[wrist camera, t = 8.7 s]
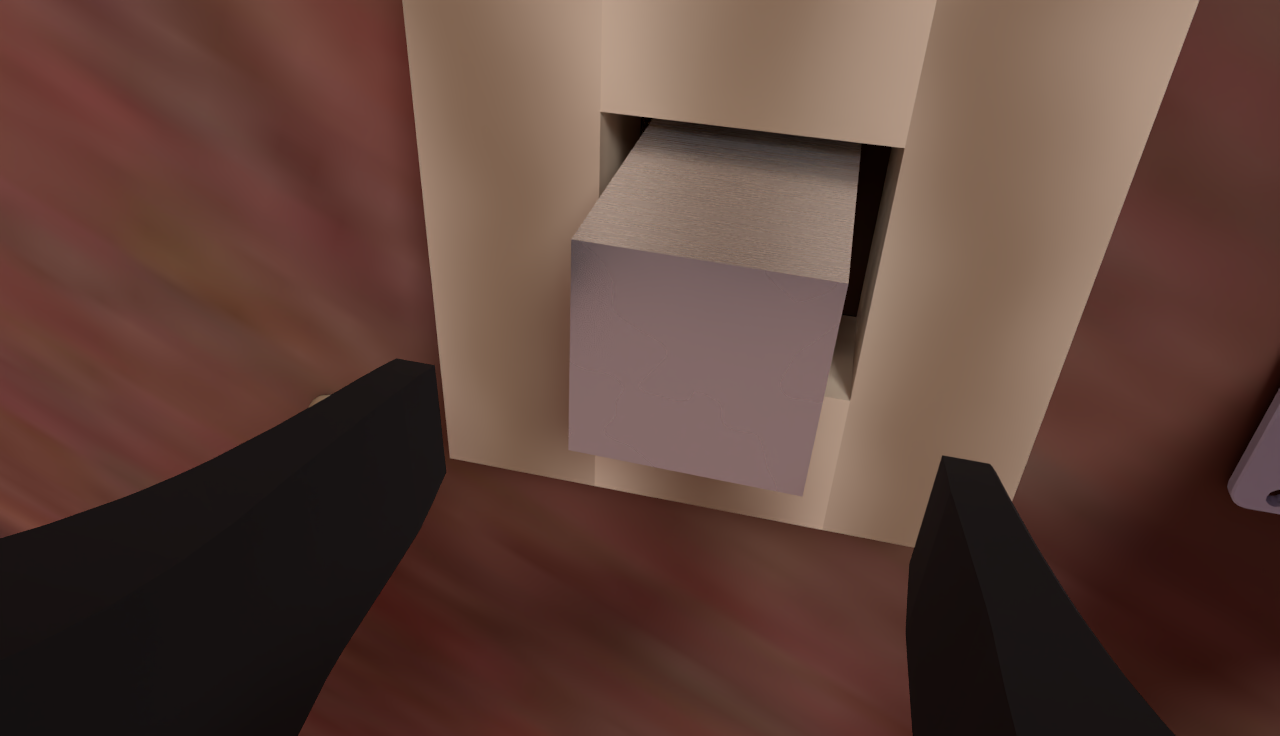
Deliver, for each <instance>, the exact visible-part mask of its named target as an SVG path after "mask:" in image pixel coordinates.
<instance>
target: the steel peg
mask: <svg viewBox="0 0 1280 736" xmlns="http://www.w3.org/2000/svg"><path fill="white" fill-rule="evenodd" d="M860 154H861V143H857V142H848V141H840V140H832V139H824V138H815V137H807V136H799V135H790V134H782V133H774V132H765V131H757V130H749V129H741V128H732V127H724V126H716V125H707V124H699V123H691V122H682V121H674V120H666V119H657V118H653V119H652V121H651V122H650V124H649V125H648V127H647V128H646V130H645V131H644V132H643V134H642V135H641V137H640V138H639V140H638V141H637V143H636V144H635V146H634V147H633V149H632V150H631V152H630V153H629V155H628V156H627V158H626V159H625V161H624V162H623V164H622V165H621V166H620V168H619V169H618V171H617V172H616V174H615V175H614V177H613V178H612V180H611V181H610V183H609V184H608V186H607V187H606V189H605V190H604V192H603V193H602V195H601V196H600V198H599V199H598V200H597V202H596V203H595V205H594V206H593V208H592V209H591V211H590V212H589V214H588V215H587V217H586V218H585V220H584V221H583V223H582V224H581V226H580V227H579V229H578V230H577V232H576V233H575V234H574V236H573V237H572V239H571V295H570V368H569V441H568V450H571V451H576V452H581V453H586V454H591V455H596V456H601V457H606V458H611V459H616V460H621V461H626V462H631V463H636V464H641V465H646V466H651V467H656V468H661V469H666V470H671V471H676V472H681V473H686V474H691V475H696V476H701V477H706V478H711V479H716V480H721V481H726V482H731V483H736V484H741V485H746V486H751V487H756V488H761V489H767V490H772V491H777V492H782V493H787V494H792V495H797V496H802V497H803V492H804V487H805V483H806V478H807V473H808V469H809V464H810V459H811V455H812V450H813V446H814V441H815V436H816V432H817V427H818V422H819V418H820V413H821V408H822V404H823V399H824V395H825V390H826V385H827V381H828V376H829V371H830V367H831V362H832V357H833V353H834V348H835V344H836V339H837V334H838V330H839V325H840V320H841V316H842V311H843V306H844V302H845V297H846V293H847V288H848V283H849V272H850V261H851V251H852V240H853V229H854V218H855V208H856V197H857V186H858V175H859V165H860Z"/></svg>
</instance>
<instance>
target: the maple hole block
mask: <svg viewBox="0 0 1280 736" xmlns="http://www.w3.org/2000/svg"><path fill="white" fill-rule="evenodd" d="M402 2H403V12H404V21H405V31H406V41H407V50H408V60H409V69H410V79H411V89H412V98H413V108H414V117H415V127H416V137H417V146H418V156H419V165H420V175H421V185H422V194H423V204H424V213H425V223H426V233H427V242H428V252H429V261H430V271H431V281H432V290H433V300H434V309H435V319H436V329H437V338H438V348H439V357H440V367H441V377H442V386H443V396H444V405H445V415H446V424H447V434H448V444H449V453H450V458H452V459H457V460H463V461H468V462H473V463H478V464H483V465H488V466H494V467H499V468H504V469H509V470H514V471H520V472H525V473H530V474H535V475H540V476H546V477H551V478H556V479H561V480H566V481H571V482H577V483H582V484H587V485H592V486H597V487H603V488H608V489H613V490H618V491H623V492H628V493H634V494H639V495H644V496H649V497H654V498H660V499H665V500H670V501H675V502H680V503H686V504H691V505H696V506H701V507H706V508H711V509H717V510H722V511H727V512H732V513H737V514H743V515H748V516H753V517H758V518H763V519H768V520H774V521H779V522H784V523H789V524H794V525H800V526H805V527H810V528H815V529H820V530H826V531H831V532H836V533H841V534H846V535H851V536H857V537H862V538H867V539H872V540H877V541H883V542H888V543H893V544H898V545H903V546H908V547H915V544H916V540H917V537H918V534H919V531H920V527H921V524H922V521H923V517H924V514H925V511H926V507H927V504H928V501H929V497H930V494H931V491H932V487H933V484H934V481H935V478H936V474H937V471H938V468H939V464H940V461H941V458H942V455H944V456H949V457H955V458H961V459H966V460H972V461H978V462H983V463H989V464H991V466H992V467H993V468H994V470H995V471H996V473H997V475H998V477H999V478H1000V480H1001V482H1002V484H1003V486H1004V488H1005V490H1006V492H1007V494H1008V495H1009V497H1010V499H1011V501H1012V500H1013V497H1014V495H1015V492H1016V489H1017V487H1018V484H1019V481H1020V479H1021V476H1022V473H1023V471H1024V468H1025V465H1026V463H1027V460H1028V457H1029V455H1030V452H1031V449H1032V447H1033V444H1034V441H1035V439H1036V436H1037V433H1038V431H1039V428H1040V425H1041V423H1042V420H1043V417H1044V415H1045V412H1046V409H1047V406H1048V404H1049V401H1050V398H1051V396H1052V393H1053V390H1054V388H1055V385H1056V382H1057V380H1058V377H1059V374H1060V372H1061V369H1062V366H1063V364H1064V361H1065V358H1066V356H1067V353H1068V350H1069V348H1070V345H1071V342H1072V340H1073V337H1074V334H1075V332H1076V329H1077V326H1078V324H1079V321H1080V318H1081V315H1082V313H1083V310H1084V307H1085V305H1086V302H1087V299H1088V297H1089V294H1090V291H1091V289H1092V286H1093V283H1094V281H1095V278H1096V275H1097V273H1098V270H1099V267H1100V265H1101V262H1102V259H1103V257H1104V254H1105V251H1106V249H1107V246H1108V243H1109V241H1110V238H1111V235H1112V233H1113V230H1114V227H1115V224H1116V222H1117V219H1118V216H1119V214H1120V211H1121V208H1122V206H1123V203H1124V200H1125V198H1126V195H1127V192H1128V190H1129V187H1130V184H1131V182H1132V179H1133V176H1134V174H1135V171H1136V168H1137V166H1138V163H1139V160H1140V158H1141V155H1142V152H1143V150H1144V147H1145V144H1146V141H1147V139H1148V136H1149V133H1150V131H1151V128H1152V125H1153V123H1154V120H1155V117H1156V115H1157V112H1158V109H1159V107H1160V104H1161V101H1162V99H1163V96H1164V93H1165V91H1166V88H1167V85H1168V83H1169V80H1170V77H1171V75H1172V72H1173V69H1174V67H1175V64H1176V61H1177V59H1178V56H1179V53H1180V50H1181V48H1182V45H1183V42H1184V40H1185V37H1186V34H1187V32H1188V29H1189V26H1190V24H1191V21H1192V18H1193V16H1194V13H1195V10H1196V8H1197V5H1198V2H1199V0H402ZM641 117H649V118H657V119H666V120H674V121H682V122H691V123H699V124H707V125H716V126H724V127H732V128H741V129H749V130H757V131H765V132H774V133H782V134H790V135H799V136H807V137H815V138H824V139H832V140H840V141H848V142H857V143H865V144H873V145H882V146H890V147H892V148H891V153H890V158H889V162H888V167H887V172H886V177H885V182H884V187H883V191H882V196H881V201H880V206H879V211H878V216H877V220H876V225H875V230H874V235H873V240H872V244H871V249H870V254H869V259H868V264H867V269H866V273H865V278H864V283H863V288H862V293H861V297H860V302H859V307H858V312H857V317H853V316H846V315H842V316H841V320H840V325H839V330H838V334H837V339H836V344H835V348H834V353H833V357H832V362H831V367H830V371H829V376H828V381H827V385H826V390H825V395H824V399H823V404H822V408H821V413H820V418H819V422H818V427H817V432H816V436H815V441H814V446H813V450H812V455H811V459H810V464H809V469H808V473H807V478H806V483H805V487H804V492H803V497H802V496H797V495H792V494H787V493H782V492H777V491H772V490H767V489H761V488H756V487H751V486H746V485H741V484H736V483H731V482H726V481H721V480H716V479H711V478H706V477H701V476H696V475H691V474H686V473H681V472H676V471H671V470H666V469H661V468H656V467H651V466H646V465H641V464H636V463H631V462H626V461H621V460H616V459H611V458H606V457H601V456H596V455H591V454H586V453H581V452H576V451H571V450H568V441H569V368H570V295H571V239H572V237H573V236H574V234H575V233H576V232H577V230H578V229H579V227H580V226H581V224H582V223H583V221H584V220H585V218H586V217H587V215H588V214H589V212H590V211H591V209H592V208H593V206H594V205H595V203H596V202H597V200H598V199H599V198H600V196H601V195H602V193H603V192H604V190H605V189H606V187H607V186H608V184H609V183H610V181H611V180H612V178H613V177H614V175H615V174H616V172H617V171H618V169H619V168H620V166H621V165H622V164H623V162H624V161H625V159H626V158H627V156H628V155H629V153H630V152H631V150H632V149H633V147H634V146H635V144H636V143H637V141H638V140H639V138H640V134H641Z"/></svg>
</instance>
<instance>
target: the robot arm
mask: <svg viewBox="0 0 1280 736" xmlns="http://www.w3.org/2000/svg"><path fill="white" fill-rule="evenodd" d="M445 474H446V465H445V456H444V447H443V438H442V428H441V419H440V410H439V401H438V391H437V382H436V373H435V365H430V364H424V363H419V362H413V361H407V360H402V359H394V360H392V361H390V362H388V363H386V364H385V365H383V366H381V367H379V368H377V369H375V370H373V371H372V372H370V373H368V374H366V375H365V376H363V377H361V378H359V379H358V380H356V381H354V382H352V383H351V384H349V385H347V386H346V387H344V388H342V389H340V390H339V391H337V392H335V393H334V394H332V395H330V396H328V397H327V398H325V399H323V400H321V401H320V402H318V403H316V404H314V405H313V406H311V407H309V408H307V409H306V410H304V411H302V412H300V413H299V414H297V415H295V416H293V417H292V418H290V419H288V420H286V421H284V422H283V423H281V424H279V425H277V426H275V427H274V428H272V429H270V430H268V431H266V432H264V433H262V434H260V435H258V436H256V437H254V438H252V439H250V440H248V441H247V442H245V443H243V444H241V445H239V446H237V447H235V448H233V449H231V450H229V451H227V452H225V453H223V454H221V455H219V456H218V457H216V458H214V459H212V460H210V461H207V462H205V463H203V464H201V465H199V466H197V467H195V468H192V469H190V470H188V471H186V472H184V473H181V474H179V475H177V476H175V477H172V478H170V479H168V480H165V481H163V482H160V483H158V484H156V485H153V486H151V487H149V488H146V489H144V490H141V491H139V492H136V493H134V494H131V495H129V496H126V497H124V498H121V499H118V500H115V501H113V502H110V503H107V504H104V505H101V506H98V507H96V508H93V509H90V510H87V511H84V512H81V513H79V514H76V515H73V516H70V517H67V518H64V519H61V520H59V521H56V522H53V523H50V524H47V525H44V526H41V527H37V528H34V529H31V530H27V531H24V532H21V533H17V534H14V535H11V536H7V537H4V538H0V736H298V734H299V732H300V730H301V728H302V726H303V724H304V722H305V720H306V718H307V716H308V714H309V712H310V710H311V708H312V706H313V704H314V702H315V700H316V699H317V697H318V695H319V693H320V691H321V689H322V687H323V685H324V683H325V681H326V679H327V677H328V675H329V673H330V672H331V670H332V668H333V667H334V665H335V663H336V661H337V660H338V658H339V656H340V655H341V653H342V651H343V650H344V648H345V646H346V645H347V643H348V642H349V640H350V639H351V637H352V636H353V634H354V632H355V631H356V629H357V628H358V626H359V625H360V623H361V622H362V620H363V618H364V617H365V615H366V614H367V612H368V611H369V609H370V608H371V606H372V604H373V603H374V601H375V600H376V598H377V597H378V595H379V594H380V592H381V590H382V589H383V587H384V586H385V584H386V583H387V581H388V580H389V578H390V576H391V575H392V573H393V572H394V570H395V569H396V567H397V565H398V564H399V562H400V561H401V559H402V558H403V556H404V554H405V553H406V551H407V550H408V548H409V546H410V545H411V543H412V542H413V540H414V538H415V537H416V535H417V533H418V532H419V530H420V528H421V526H422V524H423V522H424V520H425V518H426V516H427V514H428V512H429V510H430V507H431V505H432V503H433V501H434V499H435V496H436V494H437V492H438V490H439V487H440V485H441V483H442V480H443V478H444V476H445ZM1227 488H1228V491H1229V494H1230V496H1231V498H1232V500H1233V502H1234V503H1236V504H1237V505H1238V506H1240V507H1243V508H1246V509H1252V510H1257V511H1263V512H1269V513H1274V514H1280V494H1279V495H1276V496H1268V495H1269V494H1270V493H1271V492H1273V491H1276V490H1280V388H1279V390H1278V392H1277V394H1276V395H1275V397H1274V399H1273V401H1272V403H1271V405H1270V406H1269V408H1268V410H1267V412H1266V414H1265V415H1264V417H1263V419H1262V421H1261V423H1260V425H1259V426H1258V428H1257V430H1256V432H1255V434H1254V435H1253V437H1252V439H1251V441H1250V443H1249V445H1248V446H1247V448H1246V450H1245V452H1244V454H1243V456H1242V457H1241V459H1240V461H1239V463H1238V465H1237V466H1236V468H1235V470H1234V472H1233V474H1232V476H1231V477H1230V479H1229V481H1228V485H1227ZM906 645H907V661H908V676H909V690H910V704H911V718H912V732H913V736H1175V735H1174V734H1173V732H1172V731H1171V730H1170V729H1169V728H1168V727H1167V726H1166V725H1165V723H1164V722H1163V721H1162V720H1161V719H1160V718H1159V717H1158V715H1157V714H1156V713H1155V712H1154V711H1153V709H1152V708H1151V707H1150V706H1149V705H1148V703H1147V702H1146V701H1145V700H1144V699H1143V697H1142V696H1141V695H1140V694H1139V693H1138V691H1137V690H1136V689H1135V688H1134V687H1133V685H1132V684H1131V683H1130V682H1129V680H1128V679H1127V678H1126V677H1125V675H1124V674H1123V673H1122V672H1121V670H1120V669H1119V668H1118V666H1117V665H1116V664H1115V662H1114V661H1113V660H1112V658H1111V657H1110V656H1109V654H1108V653H1107V652H1106V650H1105V649H1104V647H1103V646H1102V645H1101V643H1100V642H1099V640H1098V639H1097V638H1096V636H1095V635H1094V633H1093V632H1092V631H1091V629H1090V628H1089V626H1088V625H1087V624H1086V622H1085V621H1084V619H1083V618H1082V616H1081V615H1080V613H1079V612H1078V610H1077V609H1076V607H1075V606H1074V604H1073V603H1072V601H1071V600H1070V598H1069V597H1068V595H1067V594H1066V592H1065V591H1064V589H1063V587H1062V586H1061V584H1060V583H1059V581H1058V580H1057V578H1056V576H1055V575H1054V573H1053V572H1052V570H1051V568H1050V567H1049V565H1048V564H1047V562H1046V560H1045V559H1044V557H1043V556H1042V554H1041V552H1040V551H1039V549H1038V547H1037V545H1036V544H1035V542H1034V540H1033V539H1032V537H1031V535H1030V533H1029V532H1028V530H1027V528H1026V526H1025V525H1024V523H1023V521H1022V519H1021V518H1020V516H1019V514H1018V512H1017V510H1016V508H1015V507H1014V505H1013V503H1012V501H1011V499H1010V497H1009V495H1008V494H1007V492H1006V490H1005V488H1004V486H1003V484H1002V482H1001V480H1000V478H999V477H998V475H997V473H996V471H995V470H994V468H993V467H992V466H991V464H989V463H983V462H978V461H972V460H966V459H961V458H955V457H949V456H944V455H942V458H941V461H940V464H939V468H938V471H937V474H936V478H935V481H934V484H933V487H932V491H931V494H930V497H929V501H928V504H927V507H926V511H925V514H924V517H923V521H922V524H921V527H920V531H919V534H918V537H917V540H916V544H915V547H914V550H913V554H912V557H911V560H910V564H909V580H908V596H907V615H906Z"/></svg>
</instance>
